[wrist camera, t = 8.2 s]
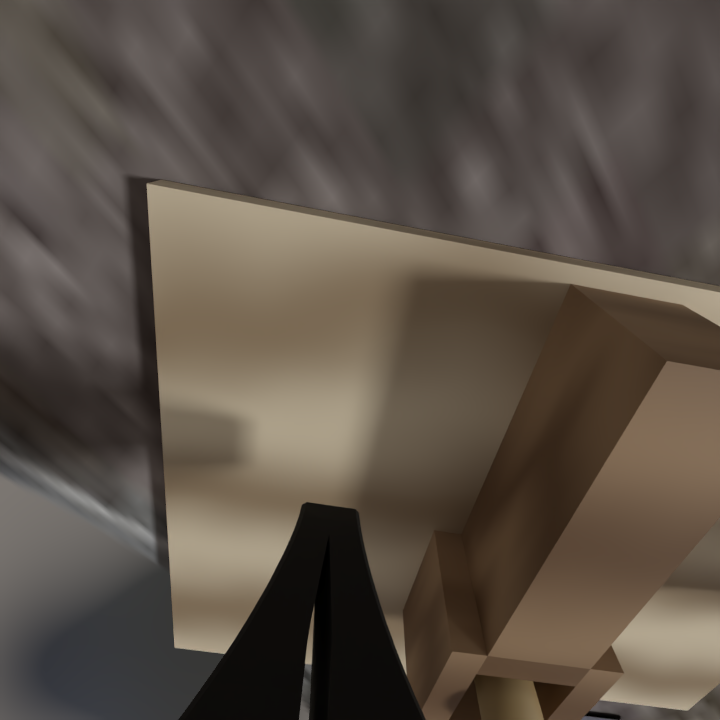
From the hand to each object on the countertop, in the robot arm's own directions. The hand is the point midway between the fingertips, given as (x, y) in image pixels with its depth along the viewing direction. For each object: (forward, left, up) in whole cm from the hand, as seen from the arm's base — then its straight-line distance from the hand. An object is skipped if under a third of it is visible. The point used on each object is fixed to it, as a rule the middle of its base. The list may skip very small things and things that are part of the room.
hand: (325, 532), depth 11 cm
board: (-3, -7, -4) cm, 9 cm away
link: (-1, -7, -3) cm, 7 cm away
